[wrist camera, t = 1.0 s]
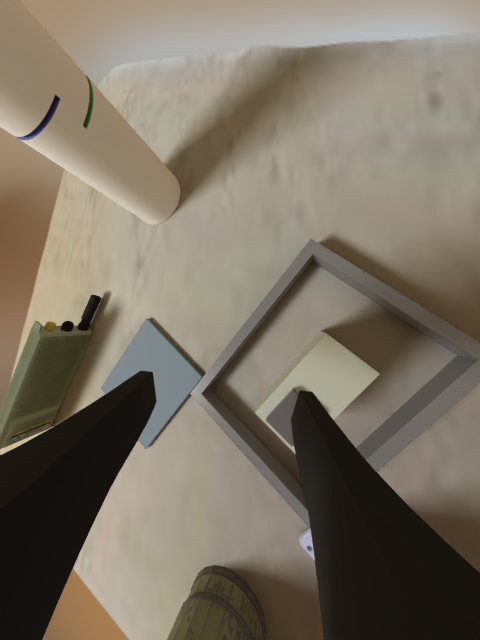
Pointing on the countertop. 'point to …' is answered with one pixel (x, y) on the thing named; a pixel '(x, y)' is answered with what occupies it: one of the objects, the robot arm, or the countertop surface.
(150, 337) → the rubber mat
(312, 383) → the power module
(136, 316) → the countertop surface
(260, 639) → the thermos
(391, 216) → the countertop surface
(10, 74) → the cylindrical container
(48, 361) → the handheld radio
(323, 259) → the gray rectangular frame
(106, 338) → the countertop surface
